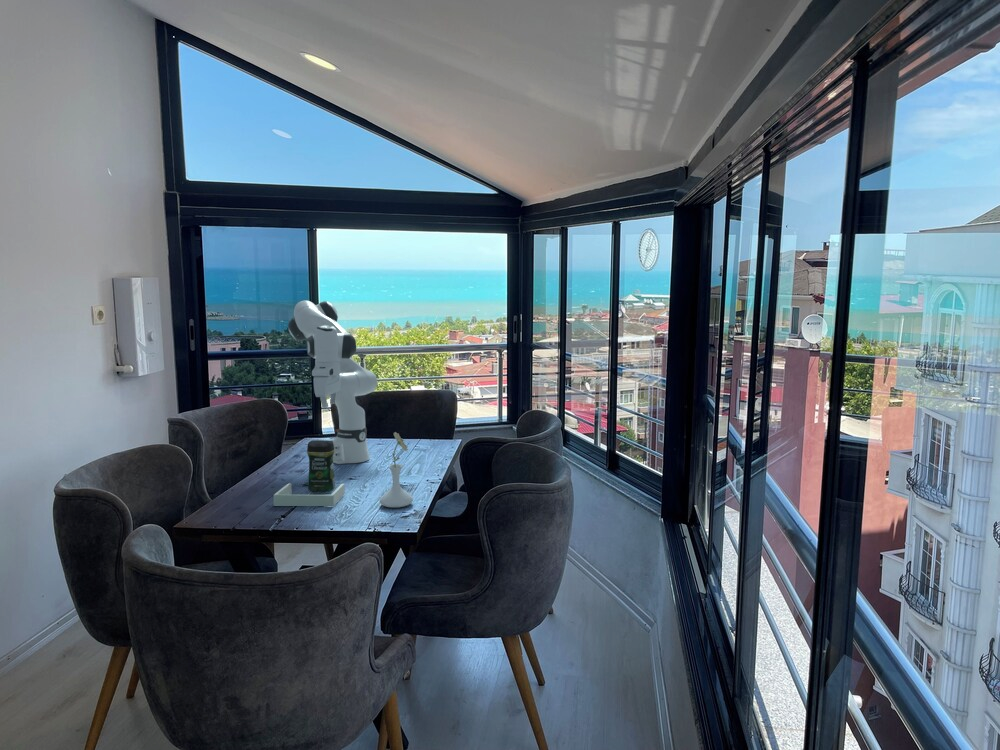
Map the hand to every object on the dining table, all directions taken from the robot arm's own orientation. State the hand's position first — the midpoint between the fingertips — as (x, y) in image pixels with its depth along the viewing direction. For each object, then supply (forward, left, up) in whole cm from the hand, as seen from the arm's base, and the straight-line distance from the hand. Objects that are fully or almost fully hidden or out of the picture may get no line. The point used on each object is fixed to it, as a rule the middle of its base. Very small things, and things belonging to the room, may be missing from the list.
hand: (329, 405), depth 246 cm
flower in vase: (+37, -6, -31) cm, 49 cm away
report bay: (+9, -18, -30) cm, 36 cm away
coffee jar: (+2, -7, -31) cm, 31 cm away
